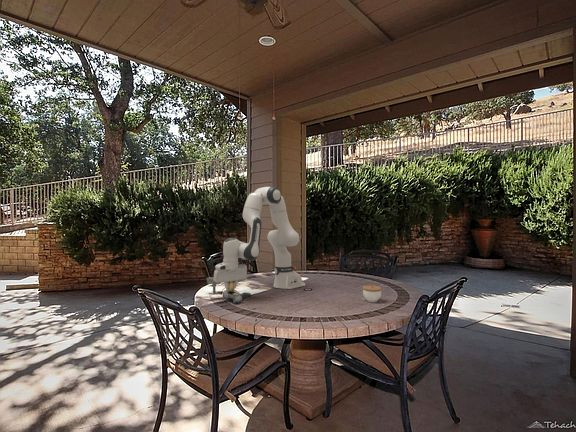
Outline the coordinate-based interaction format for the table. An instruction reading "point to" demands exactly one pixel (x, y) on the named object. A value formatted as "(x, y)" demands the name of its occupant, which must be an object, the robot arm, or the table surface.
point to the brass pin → (231, 287)
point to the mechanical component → (212, 283)
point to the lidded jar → (372, 293)
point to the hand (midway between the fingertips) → (230, 288)
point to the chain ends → (235, 296)
